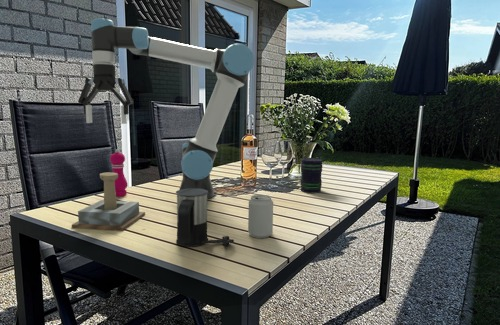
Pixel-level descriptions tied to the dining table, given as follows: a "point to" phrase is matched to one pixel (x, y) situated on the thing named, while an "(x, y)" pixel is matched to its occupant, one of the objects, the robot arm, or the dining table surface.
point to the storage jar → (311, 175)
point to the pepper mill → (119, 173)
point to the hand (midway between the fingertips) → (106, 123)
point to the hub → (108, 216)
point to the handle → (109, 190)
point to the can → (260, 216)
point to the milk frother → (194, 218)
